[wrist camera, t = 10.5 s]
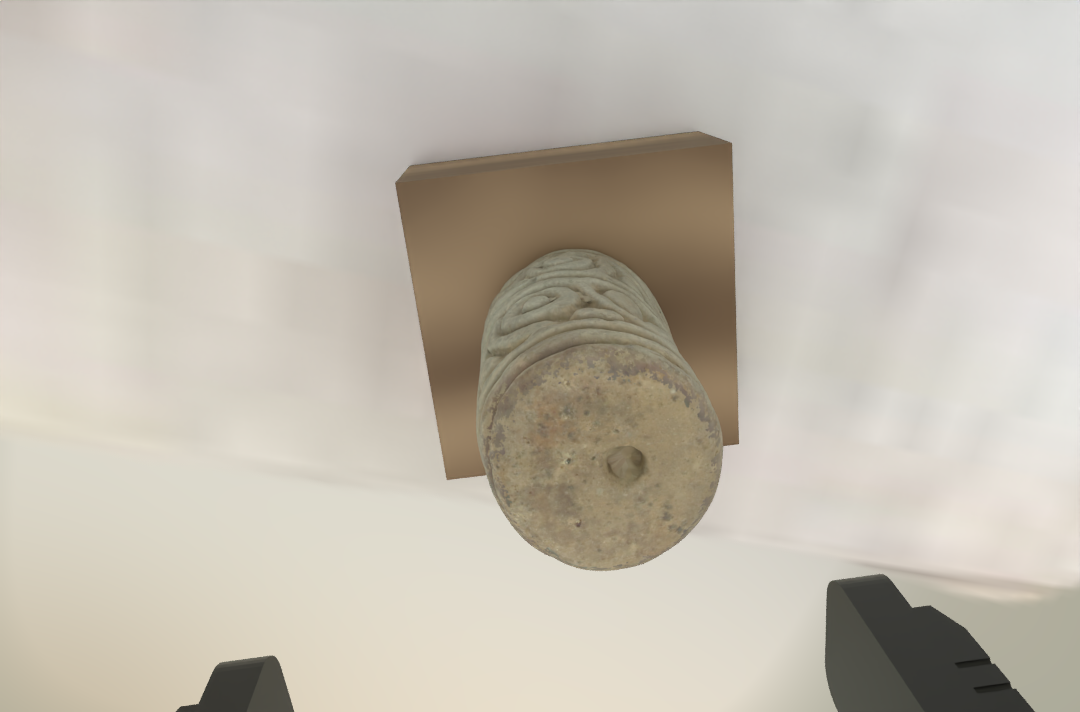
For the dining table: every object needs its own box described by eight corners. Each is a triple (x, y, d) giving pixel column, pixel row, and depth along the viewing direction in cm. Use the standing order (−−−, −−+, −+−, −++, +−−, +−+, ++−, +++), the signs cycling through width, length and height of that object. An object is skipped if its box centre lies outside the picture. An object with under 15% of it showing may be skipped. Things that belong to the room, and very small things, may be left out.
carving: (579, 192, 28) (633, 278, 17) (693, 347, 30) (807, 513, 19) (442, 296, 29) (408, 443, 18) (562, 439, 32) (598, 646, 20)
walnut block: (409, 165, 32) (395, 182, 28) (698, 131, 33) (731, 143, 28) (453, 426, 37) (446, 480, 32) (707, 395, 37) (738, 444, 32)
